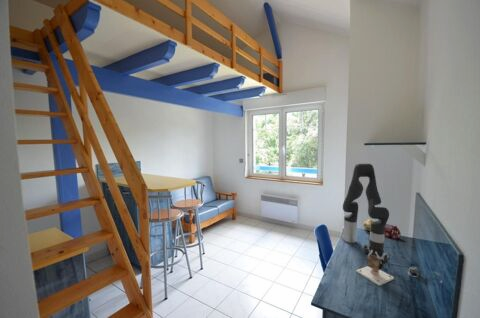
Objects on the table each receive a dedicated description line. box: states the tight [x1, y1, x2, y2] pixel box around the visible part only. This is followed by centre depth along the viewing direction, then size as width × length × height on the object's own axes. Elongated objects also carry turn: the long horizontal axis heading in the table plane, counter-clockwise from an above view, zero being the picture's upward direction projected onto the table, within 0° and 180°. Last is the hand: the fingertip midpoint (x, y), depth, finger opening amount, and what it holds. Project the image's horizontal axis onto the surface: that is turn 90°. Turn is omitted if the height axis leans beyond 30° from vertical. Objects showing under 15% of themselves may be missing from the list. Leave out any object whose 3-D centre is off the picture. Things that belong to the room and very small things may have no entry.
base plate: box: [356, 265, 395, 287], centre depth 129 cm, size 14×14×3 cm
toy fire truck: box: [384, 223, 402, 240], centre depth 182 cm, size 7×12×10 cm, turn 47°
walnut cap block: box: [366, 255, 384, 271], centre depth 128 cm, size 6×6×6 cm
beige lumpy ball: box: [362, 218, 374, 232], centre depth 194 cm, size 10×12×11 cm
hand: (375, 265), depth 129 cm, fingers closed on walnut cap block, 6 cm apart
